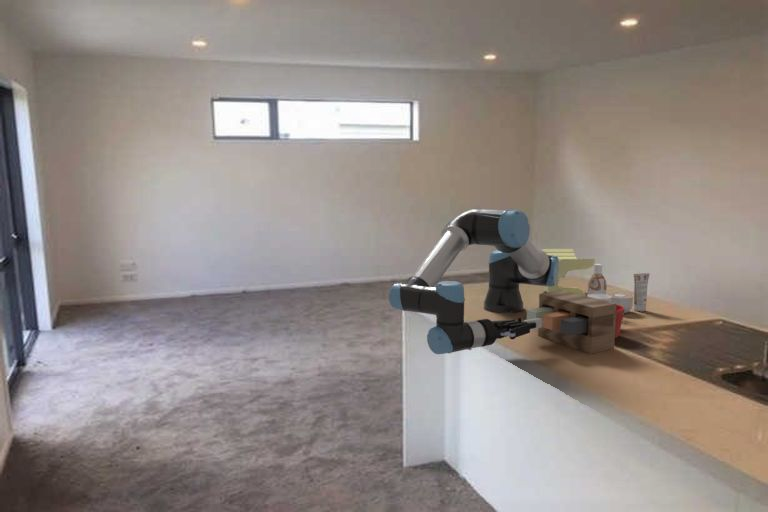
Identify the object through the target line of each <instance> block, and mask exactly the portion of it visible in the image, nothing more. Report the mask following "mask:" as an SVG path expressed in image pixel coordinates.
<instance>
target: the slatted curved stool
mask: <svg viewBox="0 0 768 512" xmlns="http://www.w3.org/2000/svg"><path fill="white" fill-rule="evenodd" d="M541 250H542V251H544V252H545V253H546V254H547V255H553V256H557V257H558V259H559V270H558V276H557V280H556V283H555V285H554V286H547V287H545V286H541V288H542V290H544V292H545V293H548V292H555V291H566V292H570V293H575V294H579V295H583V296H587V294H586V292H585V291H583V290H582V289H580V288H579V287H569V286H566V287H565V286H559V285H558V284H559V281H560V279H562V278H566V275H567V273H568V272H570V271H579V270H588V269H591V268H593V267H594V264H595V262H596V261H595V258H582V259H581V258H578V257H577V256H576V253H575V251H574V249H573V248H544V249H541Z"/></svg>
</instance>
